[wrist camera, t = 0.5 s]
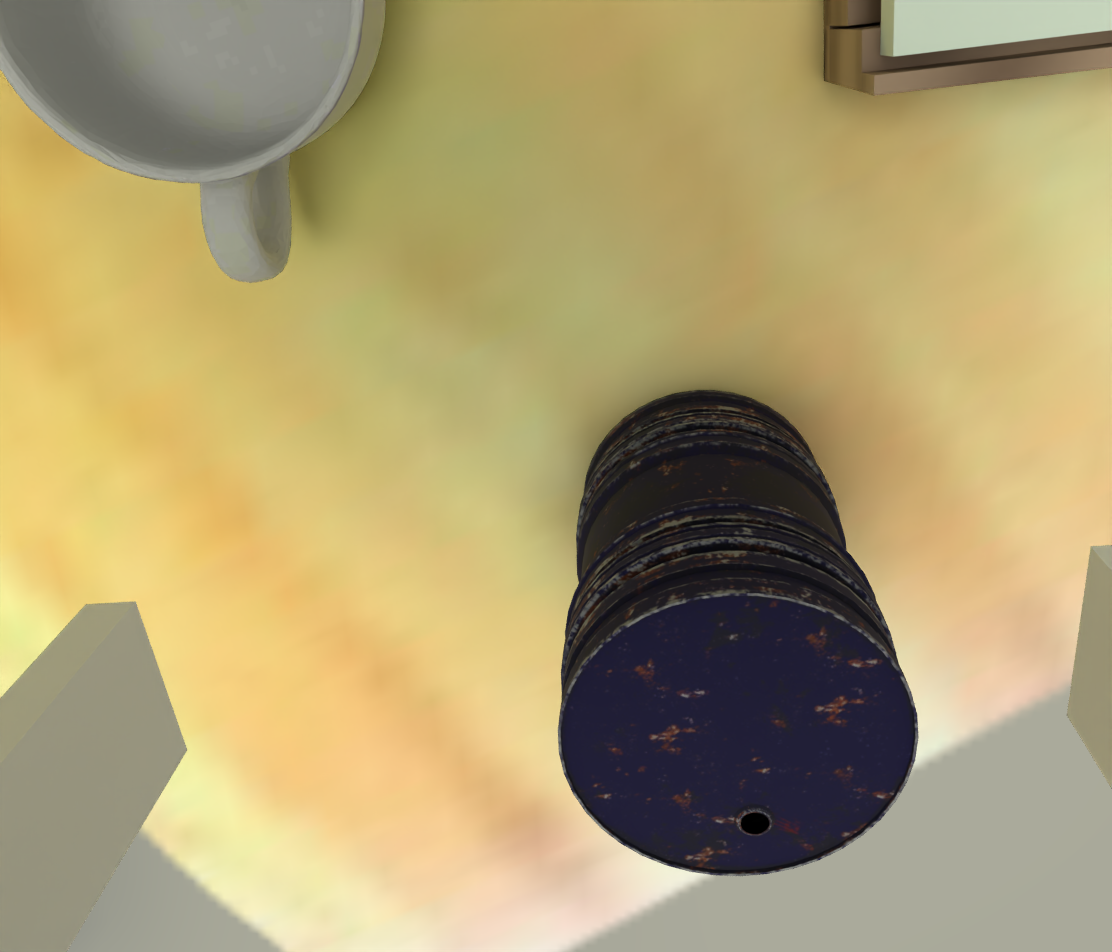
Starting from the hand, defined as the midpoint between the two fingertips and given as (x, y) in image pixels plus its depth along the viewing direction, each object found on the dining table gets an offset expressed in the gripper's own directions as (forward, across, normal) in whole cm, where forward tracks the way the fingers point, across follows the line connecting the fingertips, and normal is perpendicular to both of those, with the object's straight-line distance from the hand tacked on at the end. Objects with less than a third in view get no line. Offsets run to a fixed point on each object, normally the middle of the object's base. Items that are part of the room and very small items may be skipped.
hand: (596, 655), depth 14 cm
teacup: (+25, -12, +8) cm, 29 cm away
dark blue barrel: (+25, +2, -10) cm, 27 cm away
